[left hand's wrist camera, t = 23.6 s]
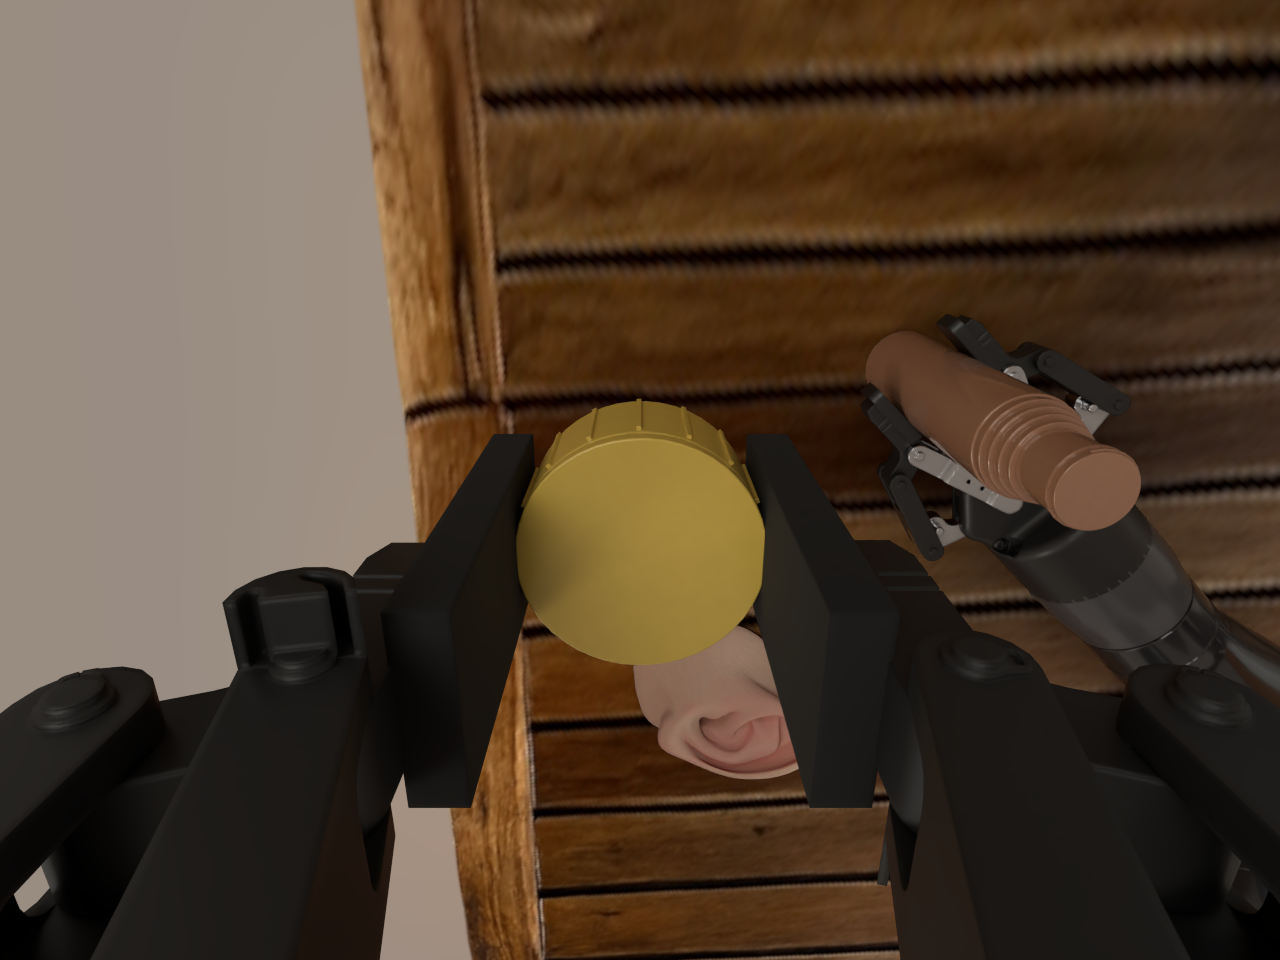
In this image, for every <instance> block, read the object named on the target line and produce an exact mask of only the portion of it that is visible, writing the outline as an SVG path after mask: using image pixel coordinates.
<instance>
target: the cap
mask: <svg viewBox="0 0 1280 960" xmlns="http://www.w3.org/2000/svg"><path fill="white" fill-rule="evenodd" d="M758 503H760V500H759V498H758V495H757V493H756V491H755V488H754V486H753V483H752V481H751V478H750V476H749V473H748V471H747V468H746V466H745V464H742V465H741V463H740V460H739V458H738V456H737V455H736V453H735V451H734V450H733V448H732V447H731V445H730V444H729V443H728V442H727V440H726V439H725V437H724V434H723V432H722V431H721V430H719V431H717V430H716V429H715V428H714V427H713V426H711V425H710V424H709V423H707V422H706V421H705V420H703V419H702V418H700V417H698V416H696V415H694V414H693V413H691V412H689V411H687V410H686V407H683V406H682V407H681V408H678V407H676V406H672V405H667V404H663V403H657V402H648V401H641V399H637V402H626V403H619V404H614V405H611V406H607V407H604V408H601V409H599V410H597V408H594V409H592V413H589V414H588V415H586V416H584V417H583V418H581V419H579V420H578V421H576V422H575V423H574V424H572V425H571V426H570V427H568V428H567V429H566V430H565V431H564V432H563V433H562V434H561V433H560V432H559V433H558V434H557V435H556V438H555V441H554V443H553V445H552V446H551V447H550V449H549V450H548V452H547V453H546V455H545V457H544V459H543V461H542V463H541V465H540V468H537V467H536V469H535V472H534V474H533V477H532V479H531V482H530V484H529V487H528V489H527V492H526V494H525V497H524V499H523V502H522V505H521V507H523V508H524V510H523V513H522V515H521V518H520V521H519V524H518V529H517V534H516V548H517V564H518V577H519V582H520V585H521V587H522V590H523V592H524V595H525V597H526V599H527V600H528V602H529V604H530V606H531V608H532V609H533V611H534V612H535V613H536V615H537V616H538V617H539V619H540V620H541V621H542V622H543V623H544V624H545V625H546V626H547V627H548V628H549V629H550V630H551V631H552V632H553V633H554V634H555V635H556V636H558V637H559V638H560V639H561V640H563V641H564V642H566V643H567V644H569V645H571V646H572V647H574V648H575V649H577V650H579V651H582V652H584V653H586V654H588V655H590V656H593V657H596V658H599V659H602V660H605V661H610V662H615V663H620V664H629V665H654V664H662V663H668V662H672V661H677V660H681V659H684V658H686V657H689V656H692V655H695V654H697V653H699V652H701V651H703V650H705V649H707V648H709V647H711V646H712V645H714V644H715V643H717V642H718V641H720V640H721V639H723V638H724V637H725V636H726V635H727V634H728V633H730V632H731V631H732V630H733V629H734V628H735V627H736V626H737V625H738V624H739V623H740V622H741V620H742V619H743V618H744V617H745V615H746V614H747V613H748V611H749V610H750V608H751V607H752V605H753V603H754V602H755V600H756V598H757V596H758V594H759V592H760V589H761V584H762V571H763V556H764V541H765V526H764V522H763V518H762V516H761V513H760V511H759V508H758V506H757V504H758Z"/></svg>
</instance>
